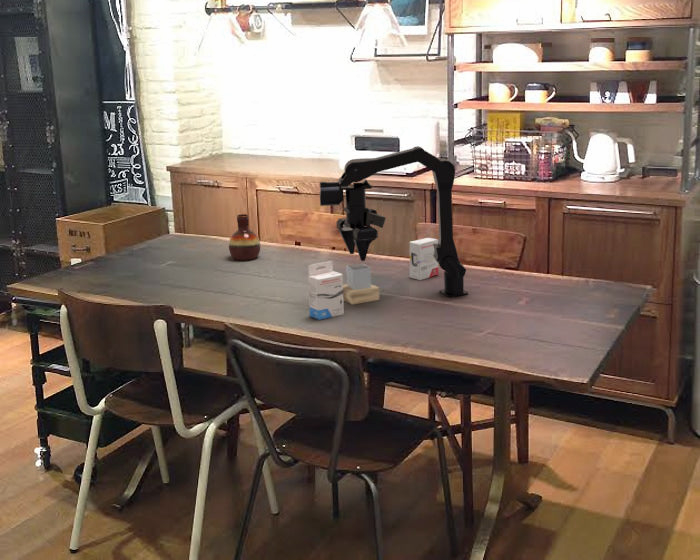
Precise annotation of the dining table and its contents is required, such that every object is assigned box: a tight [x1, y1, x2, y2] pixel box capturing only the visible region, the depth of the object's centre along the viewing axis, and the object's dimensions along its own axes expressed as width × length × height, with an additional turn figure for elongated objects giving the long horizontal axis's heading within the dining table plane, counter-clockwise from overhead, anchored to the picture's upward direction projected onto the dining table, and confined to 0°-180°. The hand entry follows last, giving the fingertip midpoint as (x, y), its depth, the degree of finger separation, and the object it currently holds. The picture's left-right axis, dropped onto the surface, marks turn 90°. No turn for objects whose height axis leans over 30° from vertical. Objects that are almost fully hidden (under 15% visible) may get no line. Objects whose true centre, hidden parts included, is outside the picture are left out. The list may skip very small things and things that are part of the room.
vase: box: [228, 214, 261, 261], centre depth 309 cm, size 11×11×15 cm
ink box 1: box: [307, 260, 345, 321], centre depth 242 cm, size 8×5×15 cm, turn 125°
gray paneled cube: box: [345, 263, 372, 290], centre depth 257 cm, size 6×6×6 cm
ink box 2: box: [409, 237, 439, 281], centre depth 277 cm, size 9×5×12 cm, turn 129°
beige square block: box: [343, 283, 380, 306], centre depth 258 cm, size 9×9×4 cm
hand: (357, 257), depth 255 cm, fingers open, 9 cm apart
